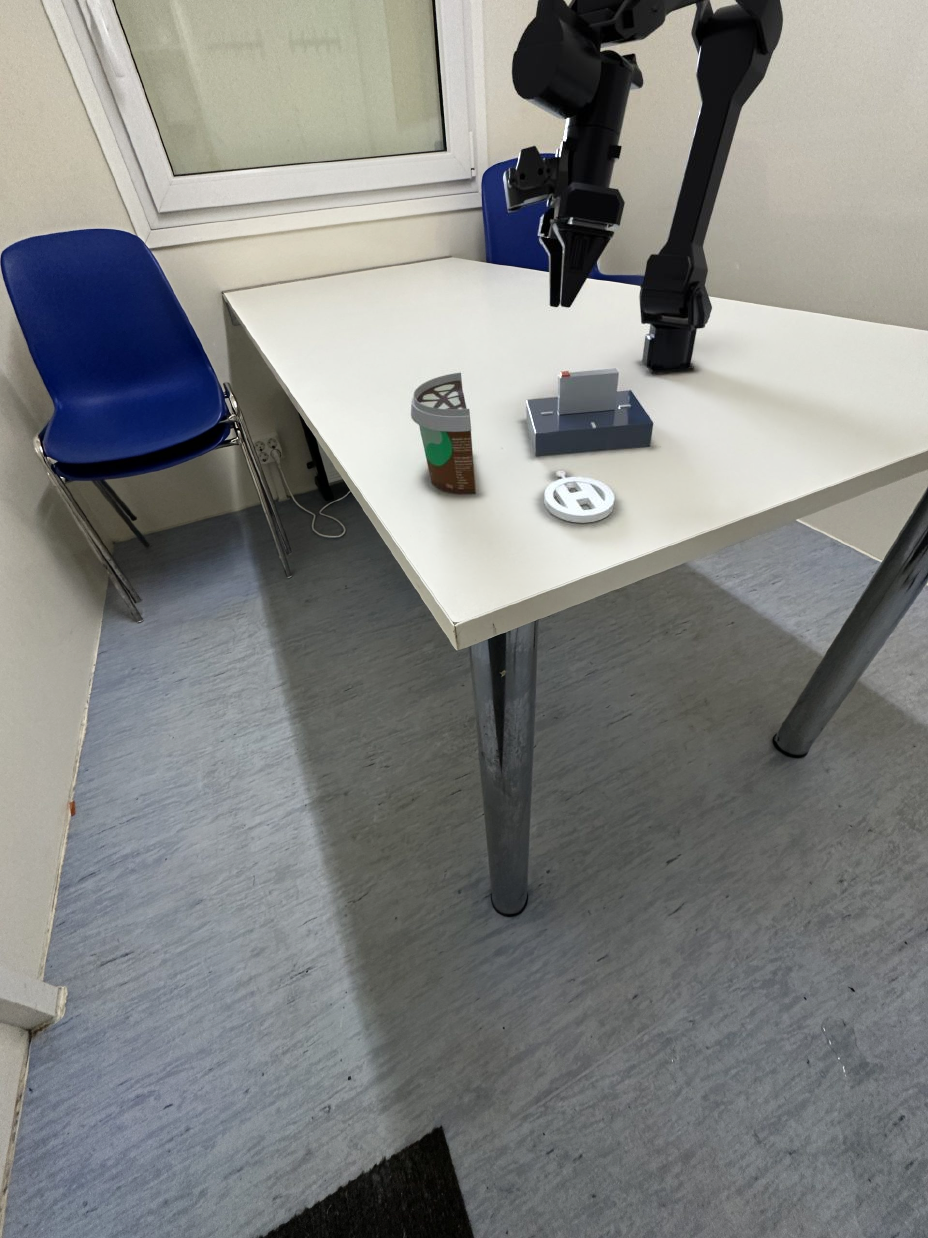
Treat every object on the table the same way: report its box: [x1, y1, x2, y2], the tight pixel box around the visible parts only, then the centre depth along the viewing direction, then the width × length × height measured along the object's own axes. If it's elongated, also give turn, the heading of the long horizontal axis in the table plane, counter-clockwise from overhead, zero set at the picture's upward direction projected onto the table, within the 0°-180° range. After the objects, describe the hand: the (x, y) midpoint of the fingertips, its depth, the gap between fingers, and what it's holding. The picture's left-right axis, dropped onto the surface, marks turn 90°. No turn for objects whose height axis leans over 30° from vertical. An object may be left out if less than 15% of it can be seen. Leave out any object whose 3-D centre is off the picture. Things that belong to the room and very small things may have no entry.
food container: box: [410, 371, 477, 495], centre depth 62 cm, size 12×6×10 cm, turn 5°
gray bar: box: [557, 367, 620, 415], centre depth 67 cm, size 7×2×5 cm, turn 91°
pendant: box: [543, 470, 615, 524], centre depth 59 cm, size 7×11×1 cm, turn 12°
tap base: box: [525, 389, 654, 457], centre depth 70 cm, size 14×11×3 cm
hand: (559, 306), depth 64 cm, fingers open, 9 cm apart
